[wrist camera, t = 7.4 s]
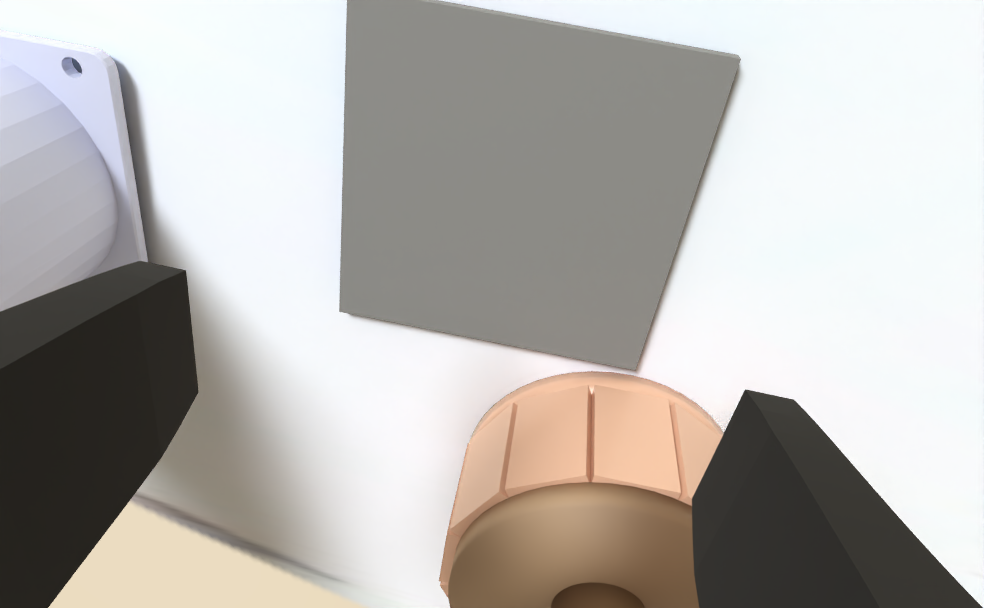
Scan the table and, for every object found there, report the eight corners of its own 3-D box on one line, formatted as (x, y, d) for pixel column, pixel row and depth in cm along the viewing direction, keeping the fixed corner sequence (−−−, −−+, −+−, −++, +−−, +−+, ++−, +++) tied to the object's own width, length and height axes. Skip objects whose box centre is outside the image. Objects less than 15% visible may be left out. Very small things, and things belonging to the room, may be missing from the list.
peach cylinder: (452, 533, 26) (428, 643, 22) (485, 346, 21) (461, 448, 17) (687, 582, 25) (702, 702, 22) (777, 404, 20) (816, 520, 17)
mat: (343, 304, 21) (339, 311, 20) (352, -16, 16) (347, -14, 15) (634, 362, 20) (635, 370, 20) (737, 55, 15) (740, 58, 15)
